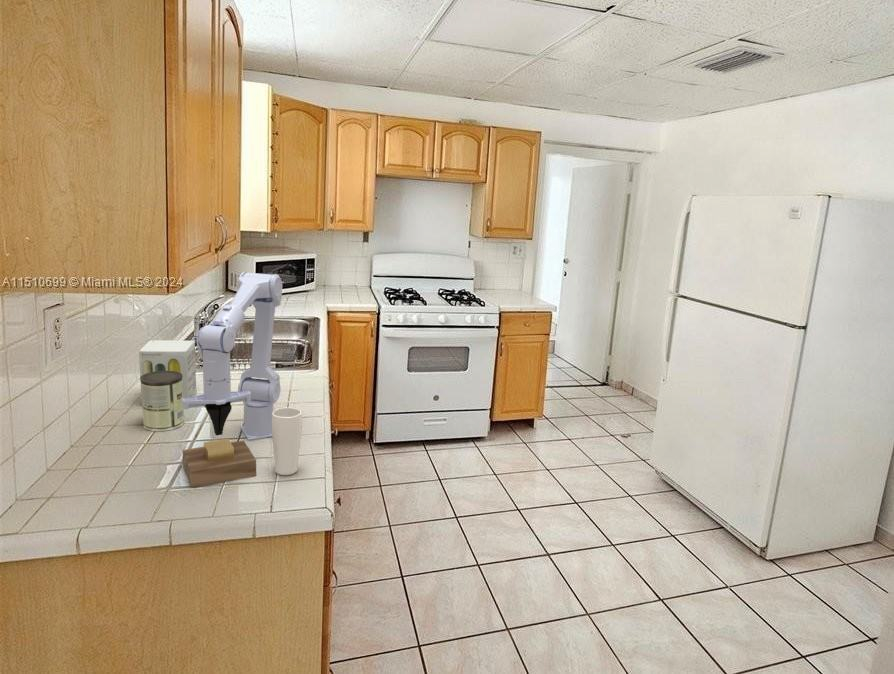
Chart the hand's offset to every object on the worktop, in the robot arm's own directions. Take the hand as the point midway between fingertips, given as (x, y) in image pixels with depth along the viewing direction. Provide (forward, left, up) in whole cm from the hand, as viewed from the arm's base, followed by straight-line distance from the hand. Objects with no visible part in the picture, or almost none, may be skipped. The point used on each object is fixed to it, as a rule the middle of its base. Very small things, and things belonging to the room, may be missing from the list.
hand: (218, 433), depth 131 cm
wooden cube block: (0, 0, -9) cm, 9 cm away
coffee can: (-34, -8, -10) cm, 36 cm away
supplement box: (-54, -4, -10) cm, 55 cm away
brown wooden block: (0, 0, -9) cm, 9 cm away
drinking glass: (+7, +14, -10) cm, 18 cm away
